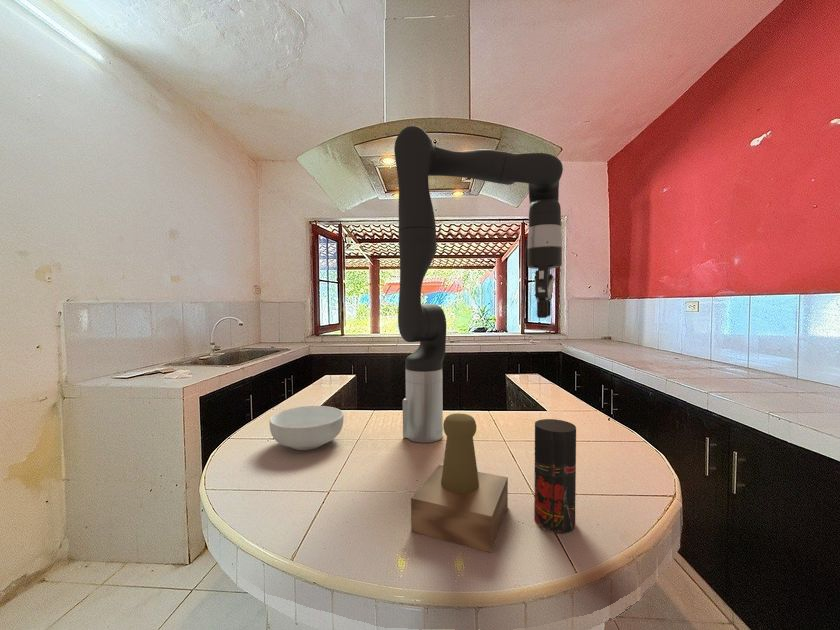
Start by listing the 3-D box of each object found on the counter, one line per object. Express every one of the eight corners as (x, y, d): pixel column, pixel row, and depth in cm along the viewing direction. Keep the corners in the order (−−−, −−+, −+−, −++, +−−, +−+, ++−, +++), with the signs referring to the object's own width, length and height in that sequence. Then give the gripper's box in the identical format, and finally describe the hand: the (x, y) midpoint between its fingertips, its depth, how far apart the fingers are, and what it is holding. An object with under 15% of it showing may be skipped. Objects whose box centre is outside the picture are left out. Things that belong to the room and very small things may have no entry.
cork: (484, 479, 60) (484, 412, 59) (471, 497, 55) (471, 423, 54) (450, 471, 63) (449, 407, 62) (434, 487, 57) (434, 418, 57)
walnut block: (411, 531, 55) (410, 498, 54) (439, 492, 66) (439, 464, 65) (491, 552, 50) (491, 516, 50) (507, 506, 61) (507, 477, 61)
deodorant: (528, 511, 60) (528, 419, 59) (563, 509, 60) (564, 418, 59) (543, 534, 54) (544, 432, 53) (583, 532, 54) (584, 431, 54)
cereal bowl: (286, 466, 77) (285, 432, 77) (260, 443, 89) (259, 414, 89) (357, 444, 88) (356, 415, 88) (324, 427, 101) (324, 401, 100)
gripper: (560, 241, 77) (559, 318, 78) (563, 249, 90) (562, 316, 91) (523, 243, 80) (523, 318, 81) (531, 251, 93) (531, 315, 94)
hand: (544, 317), depth 86 cm, fingers open, 8 cm apart
